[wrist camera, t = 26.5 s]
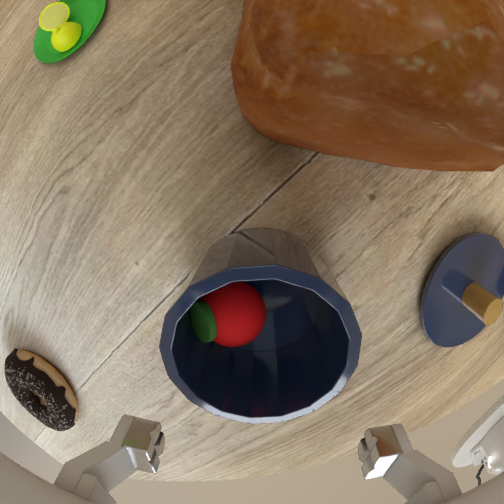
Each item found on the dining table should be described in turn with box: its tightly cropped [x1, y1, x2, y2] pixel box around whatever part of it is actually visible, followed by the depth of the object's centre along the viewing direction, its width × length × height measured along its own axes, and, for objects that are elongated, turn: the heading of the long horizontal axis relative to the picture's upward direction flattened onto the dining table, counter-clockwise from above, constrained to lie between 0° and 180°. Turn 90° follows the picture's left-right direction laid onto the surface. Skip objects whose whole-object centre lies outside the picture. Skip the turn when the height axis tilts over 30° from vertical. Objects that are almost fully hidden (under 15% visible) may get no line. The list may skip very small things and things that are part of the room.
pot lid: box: [420, 232, 504, 347], centre depth 18 cm, size 11×11×5 cm
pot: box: [159, 228, 362, 424], centre depth 17 cm, size 10×10×8 cm
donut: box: [4, 348, 78, 431], centre depth 24 cm, size 11×12×4 cm
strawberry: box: [190, 281, 266, 347], centre depth 18 cm, size 4×4×5 cm
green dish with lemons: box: [34, 0, 106, 63], centre depth 13 cm, size 8×8×3 cm
